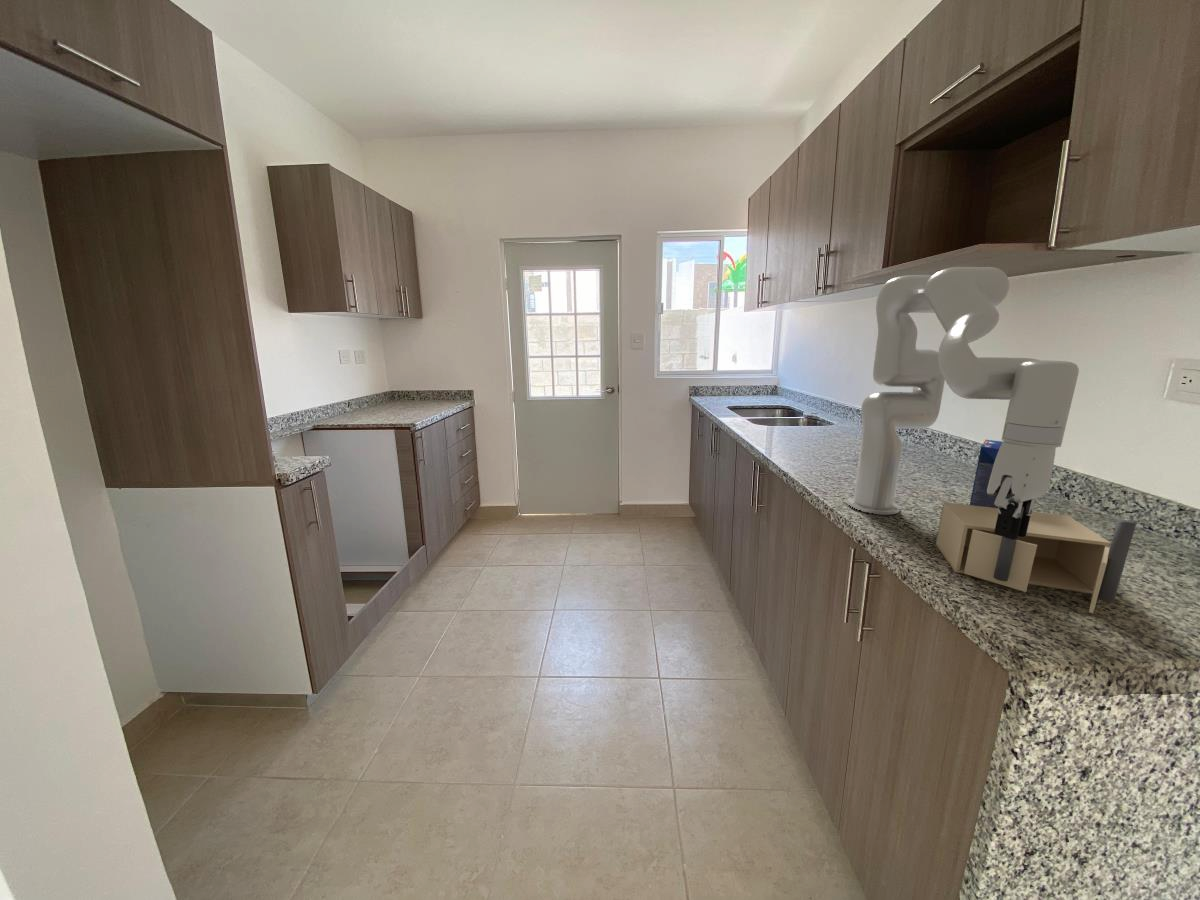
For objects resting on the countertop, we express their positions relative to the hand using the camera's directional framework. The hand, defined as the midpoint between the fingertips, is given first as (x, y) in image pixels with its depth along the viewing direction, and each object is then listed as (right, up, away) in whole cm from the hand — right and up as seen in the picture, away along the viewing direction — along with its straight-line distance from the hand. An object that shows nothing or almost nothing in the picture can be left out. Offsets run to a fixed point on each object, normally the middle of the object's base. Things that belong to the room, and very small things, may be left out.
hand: (1009, 534), depth 82 cm
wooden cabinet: (+9, -8, +11) cm, 16 cm away
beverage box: (+16, -5, +25) cm, 30 cm away
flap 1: (0, -10, +3) cm, 10 cm away
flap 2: (+12, -11, -4) cm, 17 cm away
